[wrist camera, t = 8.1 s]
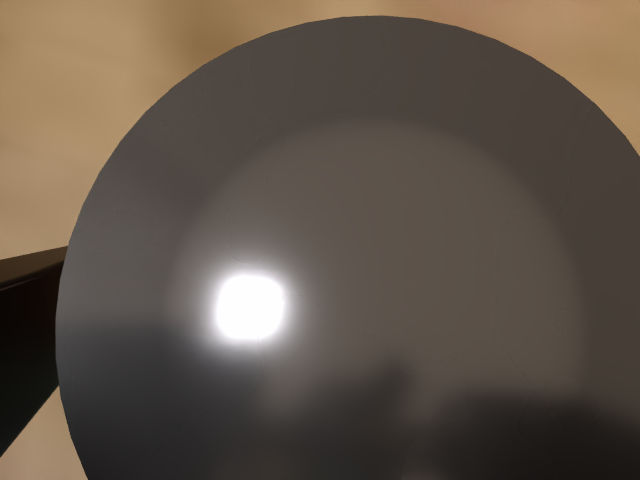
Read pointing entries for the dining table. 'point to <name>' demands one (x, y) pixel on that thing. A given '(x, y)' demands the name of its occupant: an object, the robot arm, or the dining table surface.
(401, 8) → the dining table surface
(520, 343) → the coffee tin
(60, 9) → the dining table surface
